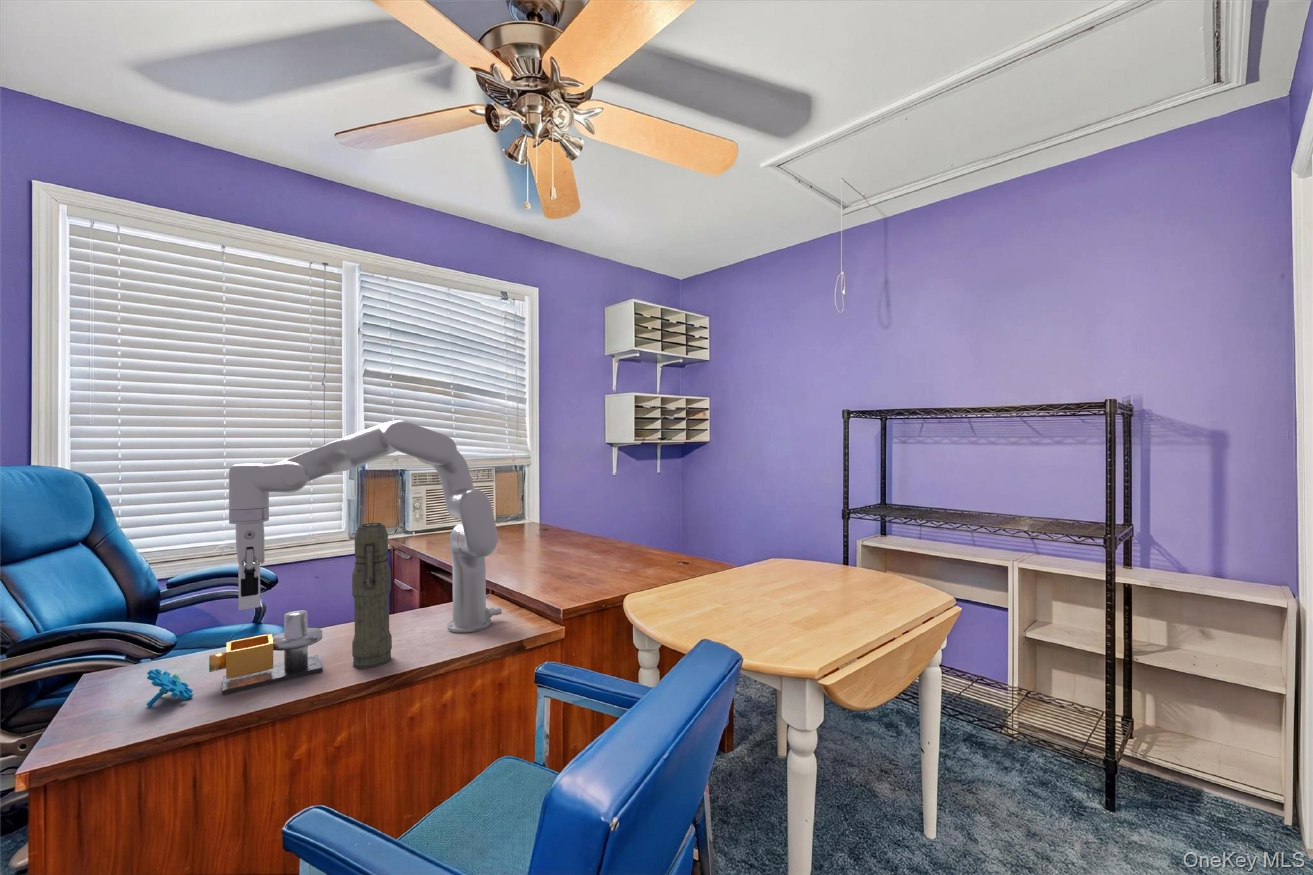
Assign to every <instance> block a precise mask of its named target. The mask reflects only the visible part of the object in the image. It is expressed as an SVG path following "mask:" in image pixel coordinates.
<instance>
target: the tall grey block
mask: <svg viewBox="0 0 1313 875" xmlns="http://www.w3.org/2000/svg"><path fill="white" fill-rule="evenodd" d="M253 564H255V562H253ZM244 565H247V563H244ZM253 568H254V567H253ZM245 569H247V568H245ZM237 574H238V581H237V582H238V611H242V610H243V611H244V610H248V609H257V608H260V607H261V562H260V563H258V561H257V577H258V594H257V595H252V596H245V597H242V596H241V579H242V567H241V566H239V564H238V573H237Z"/></svg>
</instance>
